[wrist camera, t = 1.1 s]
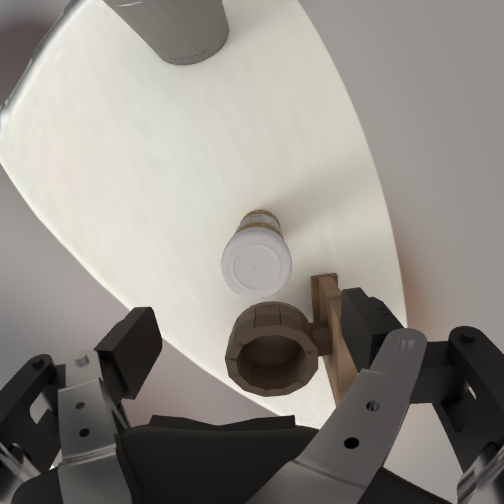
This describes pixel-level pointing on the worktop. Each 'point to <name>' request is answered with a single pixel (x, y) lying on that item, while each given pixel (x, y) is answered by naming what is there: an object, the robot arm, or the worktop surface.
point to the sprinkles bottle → (257, 257)
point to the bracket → (291, 345)
